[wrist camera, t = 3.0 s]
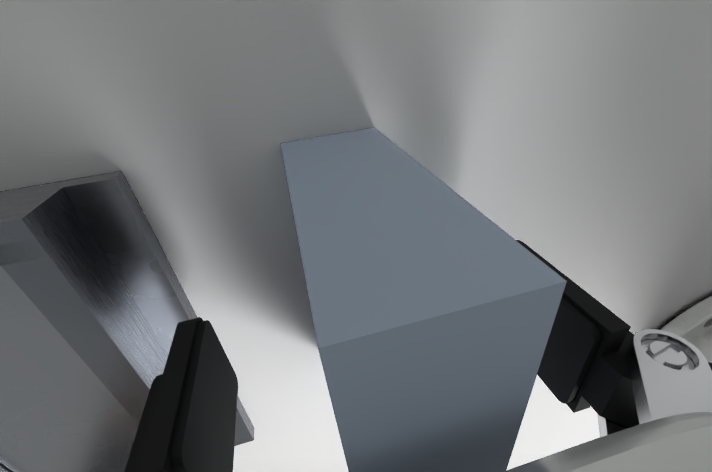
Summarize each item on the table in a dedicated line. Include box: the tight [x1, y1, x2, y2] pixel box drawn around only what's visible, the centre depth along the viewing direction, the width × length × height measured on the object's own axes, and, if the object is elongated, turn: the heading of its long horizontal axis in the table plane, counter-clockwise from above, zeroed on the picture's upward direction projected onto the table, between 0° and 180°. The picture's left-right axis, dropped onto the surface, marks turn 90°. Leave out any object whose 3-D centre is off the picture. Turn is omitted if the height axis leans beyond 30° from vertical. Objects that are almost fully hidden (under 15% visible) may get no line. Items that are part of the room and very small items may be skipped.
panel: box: [280, 127, 567, 472], centre depth 10 cm, size 3×10×8 cm, turn 6°
